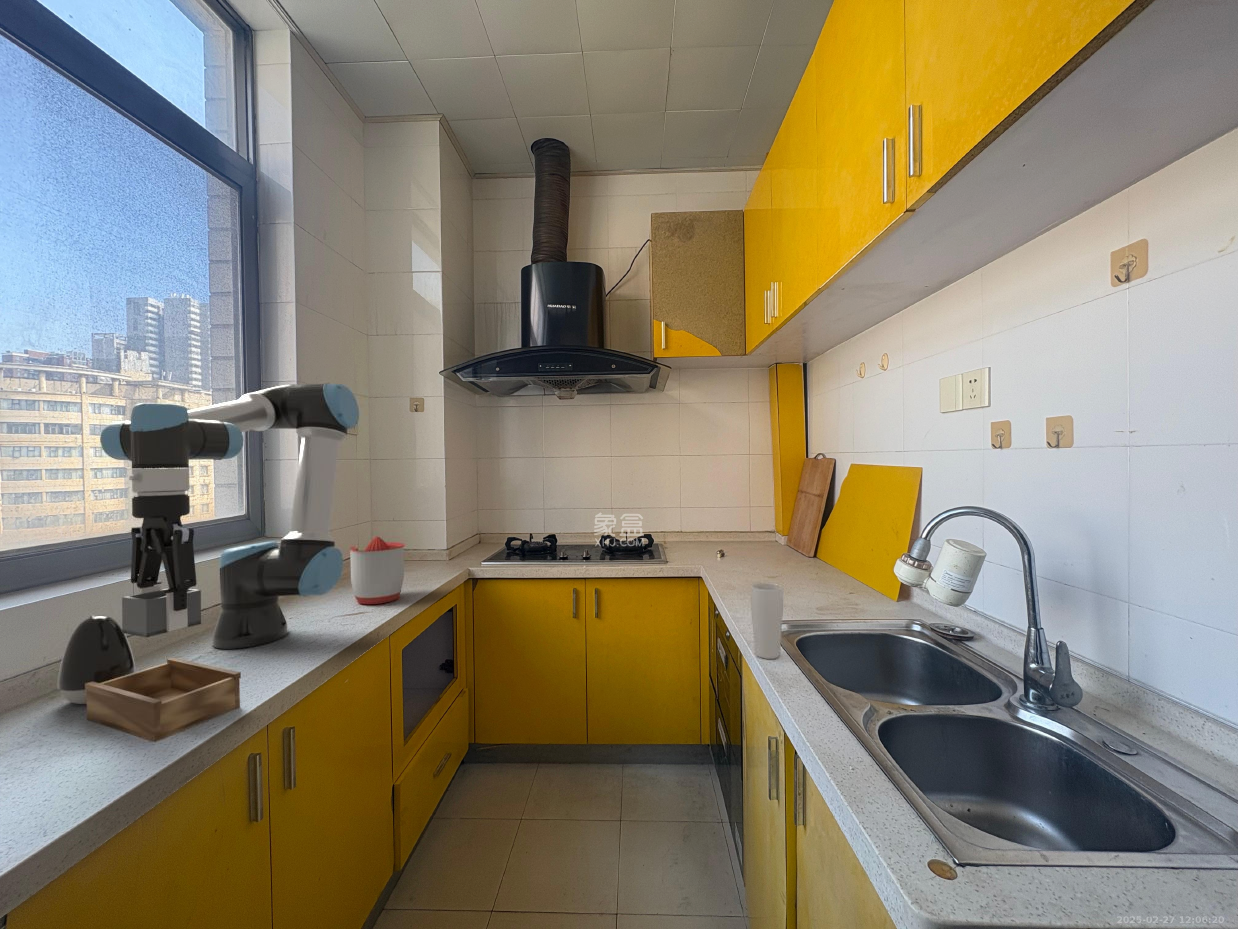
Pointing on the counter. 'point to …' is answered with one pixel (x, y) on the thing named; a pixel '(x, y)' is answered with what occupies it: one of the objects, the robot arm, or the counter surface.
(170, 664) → the large crate
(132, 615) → the box
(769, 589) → the drinking glass
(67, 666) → the pump dispenser
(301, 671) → the counter surface
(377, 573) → the citrus juicer
